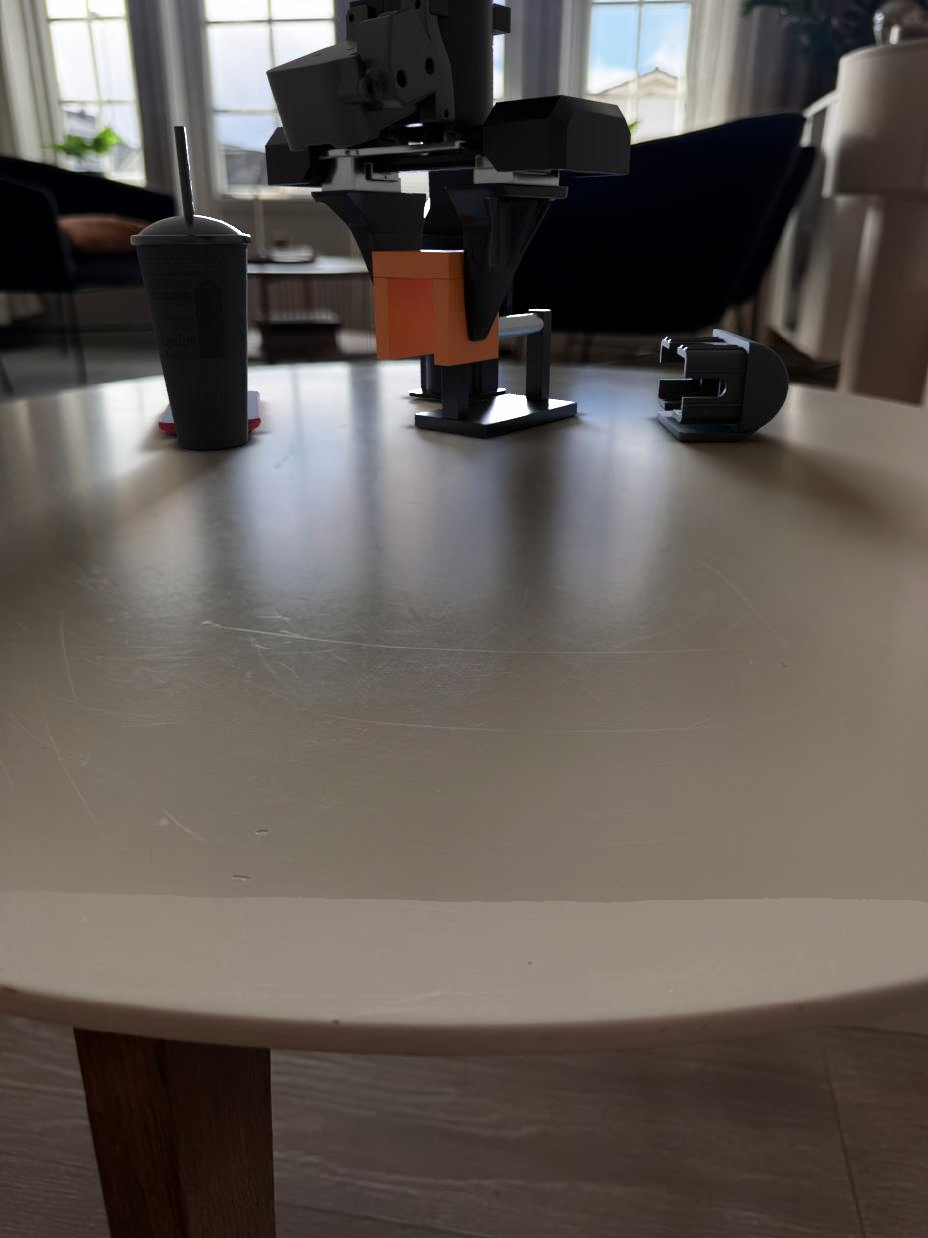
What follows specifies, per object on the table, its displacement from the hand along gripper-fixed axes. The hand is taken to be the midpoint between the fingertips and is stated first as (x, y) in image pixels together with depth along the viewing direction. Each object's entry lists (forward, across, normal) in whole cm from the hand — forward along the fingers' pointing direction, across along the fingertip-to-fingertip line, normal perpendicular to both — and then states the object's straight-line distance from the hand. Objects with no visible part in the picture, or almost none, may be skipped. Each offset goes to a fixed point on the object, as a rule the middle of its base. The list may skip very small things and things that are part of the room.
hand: (437, 337), depth 48 cm
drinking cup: (+9, -23, +2) cm, 25 cm away
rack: (+9, -12, +21) cm, 26 cm away
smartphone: (+9, -31, +8) cm, 33 cm away
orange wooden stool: (+1, 0, 0) cm, 1 cm away
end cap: (+9, +3, +28) cm, 29 cm away
